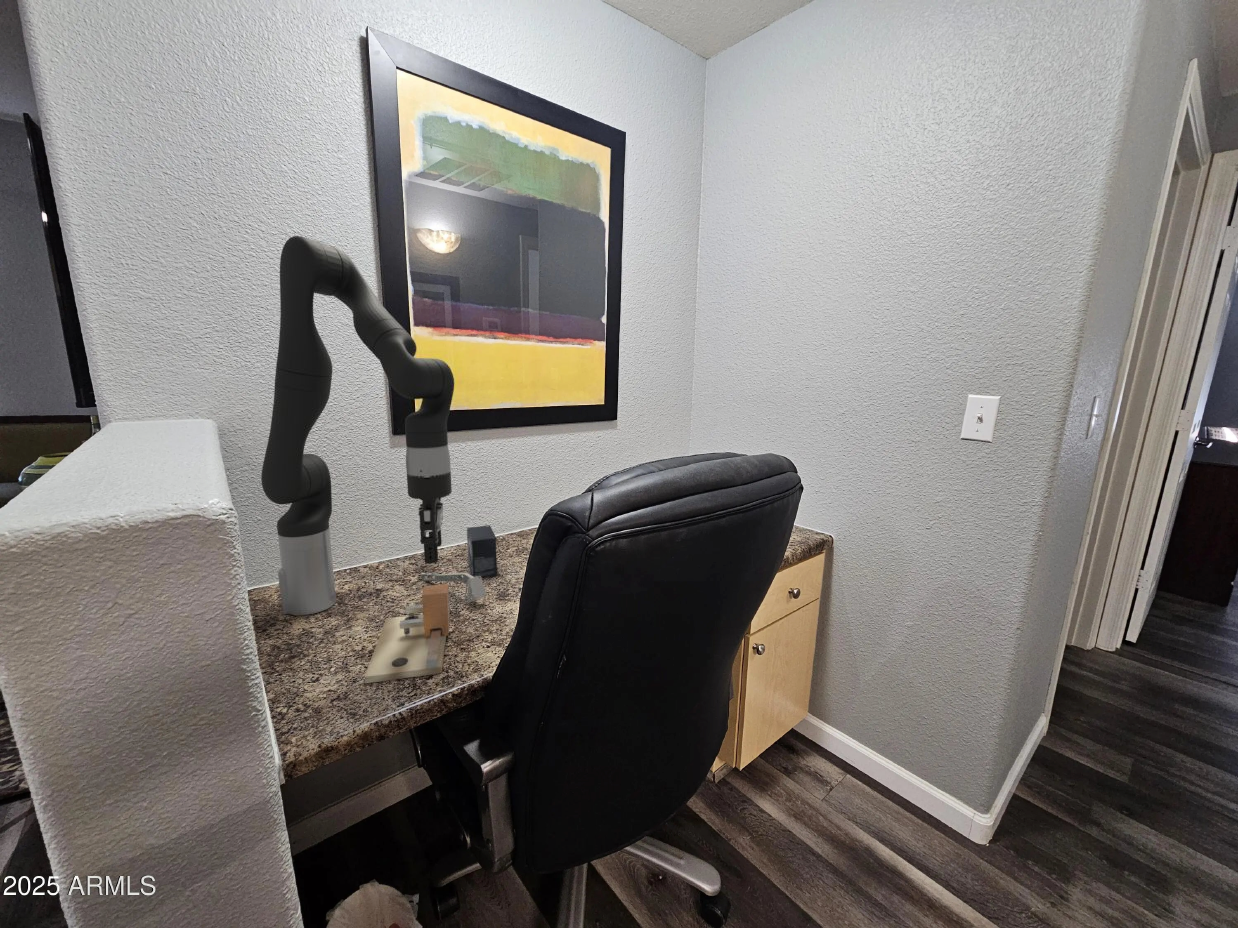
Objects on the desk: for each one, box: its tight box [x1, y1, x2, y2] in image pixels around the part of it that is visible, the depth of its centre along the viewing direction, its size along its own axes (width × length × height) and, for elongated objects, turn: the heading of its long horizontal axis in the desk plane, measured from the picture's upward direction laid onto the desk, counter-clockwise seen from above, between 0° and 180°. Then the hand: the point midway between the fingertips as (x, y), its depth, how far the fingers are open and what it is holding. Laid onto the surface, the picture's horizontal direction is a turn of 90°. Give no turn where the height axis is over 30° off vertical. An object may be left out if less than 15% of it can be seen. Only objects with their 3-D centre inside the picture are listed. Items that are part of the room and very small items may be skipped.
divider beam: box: [405, 604, 442, 669], centre depth 92 cm, size 8×20×3 cm, turn 16°
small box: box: [466, 524, 499, 579], centre depth 126 cm, size 11×6×10 cm, turn 23°
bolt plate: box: [363, 613, 447, 684], centre depth 92 cm, size 12×20×1 cm, turn 16°
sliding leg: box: [399, 583, 451, 637], centre depth 93 cm, size 9×4×9 cm, turn 106°
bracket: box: [419, 571, 488, 604], centre depth 114 cm, size 3×21×10 cm, turn 53°
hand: (433, 554), depth 92 cm, fingers open, 8 cm apart
